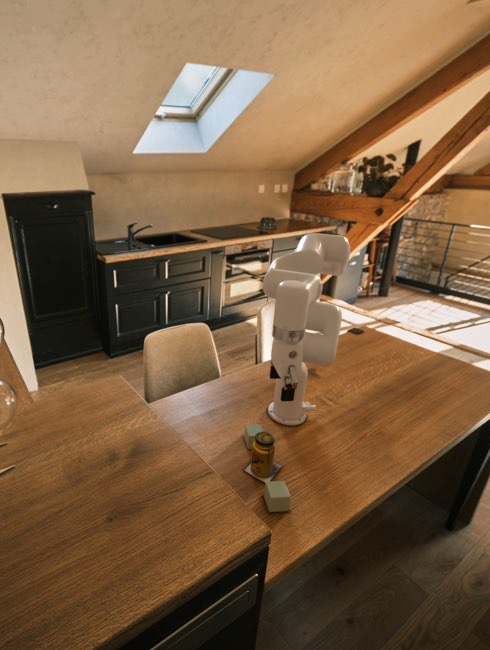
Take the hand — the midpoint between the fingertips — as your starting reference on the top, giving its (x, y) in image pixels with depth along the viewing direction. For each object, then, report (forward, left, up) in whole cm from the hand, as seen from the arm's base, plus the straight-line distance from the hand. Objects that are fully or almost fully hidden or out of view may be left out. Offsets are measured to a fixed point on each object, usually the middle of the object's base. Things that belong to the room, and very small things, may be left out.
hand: (280, 388), depth 100 cm
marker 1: (+3, -10, -27) cm, 28 cm away
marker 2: (+3, +12, -27) cm, 30 cm away
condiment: (+3, +1, -27) cm, 27 cm away
